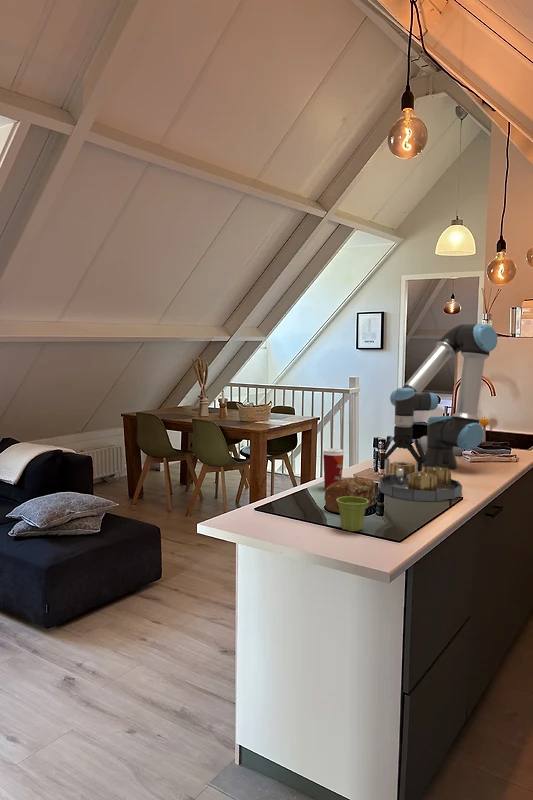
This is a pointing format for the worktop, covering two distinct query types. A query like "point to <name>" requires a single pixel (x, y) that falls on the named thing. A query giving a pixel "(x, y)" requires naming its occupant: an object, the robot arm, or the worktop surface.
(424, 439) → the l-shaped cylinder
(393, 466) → the planet gear
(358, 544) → the worktop surface
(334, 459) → the coffee cup
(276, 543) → the worktop surface
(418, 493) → the tray
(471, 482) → the worktop surface
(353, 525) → the plant pot
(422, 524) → the worktop surface
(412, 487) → the seated gear
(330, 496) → the bread
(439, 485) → the seated gear
